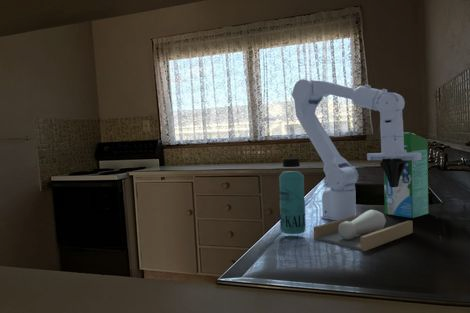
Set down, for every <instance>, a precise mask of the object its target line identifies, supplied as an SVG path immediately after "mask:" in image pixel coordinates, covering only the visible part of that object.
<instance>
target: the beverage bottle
mask: <svg viewBox="0 0 470 313" xmlns="http://www.w3.org/2000/svg"><path fill="white" fill-rule="evenodd" d="M300 166H301V164H300V159H299V158H297V157H287V158H283V162H282V167H283V168H297V167H298V168H299V167H300ZM278 180H279V190H278V194H279V229H280V232H281V233H283V234H286V235H298V234H303V233H305V232H306V226H307V225H306V220H307V219H306V201H305V176H304V174H303V173H302V172H301V171H299V170H289V171H288V170H287V171H286V170H285V171H282V172H281V173H280V175H279V176H278Z"/></svg>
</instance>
